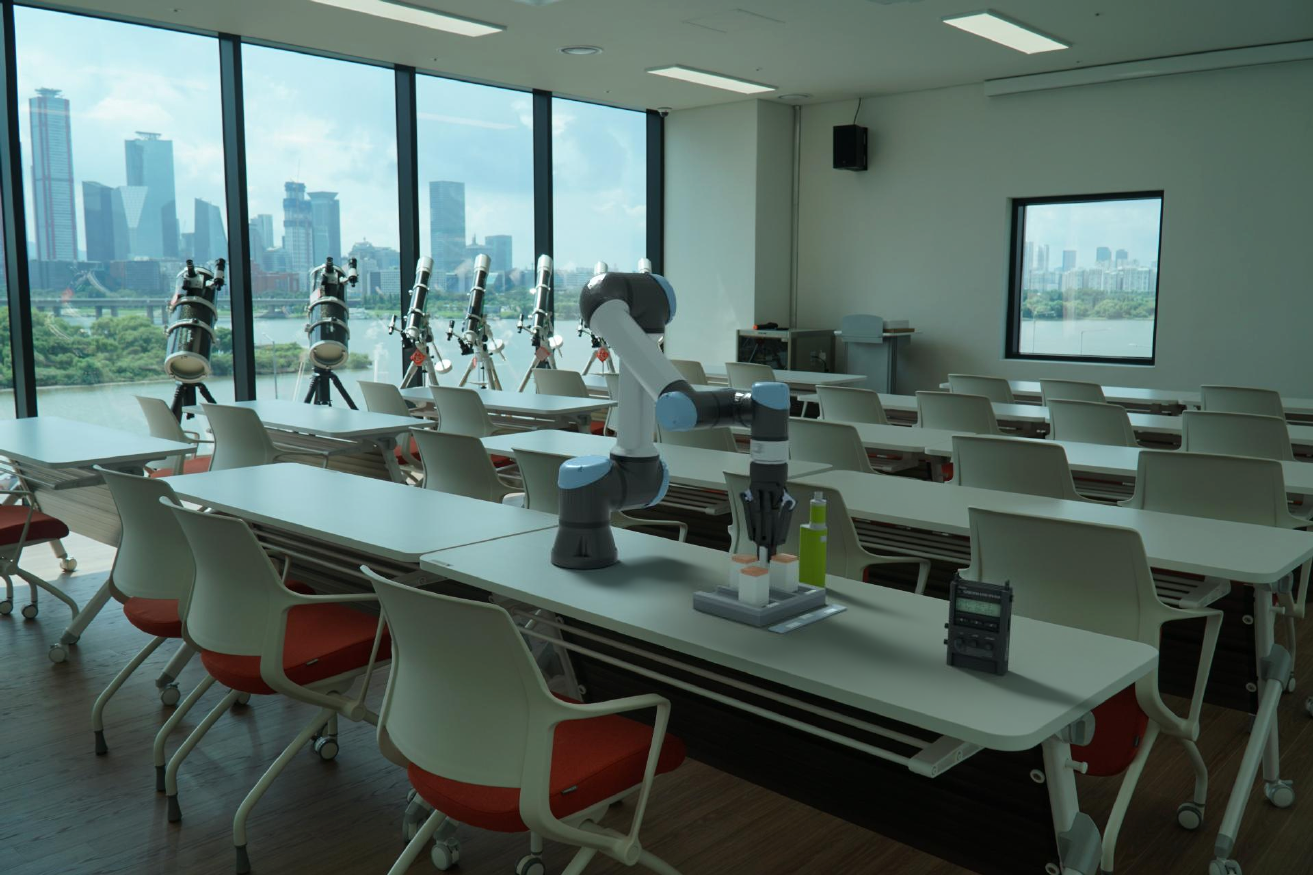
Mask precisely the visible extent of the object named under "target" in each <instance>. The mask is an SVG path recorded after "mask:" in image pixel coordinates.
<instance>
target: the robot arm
mask: <svg viewBox="0 0 1313 875" xmlns="http://www.w3.org/2000/svg"><path fill="white" fill-rule="evenodd" d="M578 300H579V301H578V303H579V305H578V306H579V312H580V316H581V318H582V320H583V322H584V323H585V325H586V327H587V328H588V329H589V331H591V333H592V334H593V335H594V336H596V337H598V338H602V339H603V340H604V341H605V342H606V343H607V345H608V346H609V347H610V349H612V351H613V352H614V353H615V354H616V356H617V357H618V359H619V360H618V391H617V392H618V393H617V419H616V420H617V422H616V424H617V425H616V443H615V445H613V446H612V447H611V448H610V449H609V456H607V455H602V454H601V455H600V454H594V455H592V454H591V455H583V456H582V455H581V456H576V457H572V458H570V459H569V458H568V460H565V461H564V462H563V463H562V464H561V465H560V467H559V470H558V478H557V479H558V480H557V485H558V529H557V533H556V536H555V540H554V542H553V543H554V544H553V546H552V548H551V550H550V561H551V563H552V564H553V565H555V566H559V567H562V568H568V569H578V570H579V569H583V570H585V569H587V570H589V569H600V568H606V567H610V566H613V565H614V564H617V562H618V561H619V558H618V557H619V552H618V548H617V547H616V542H615V539H614V534H613V532H612V528H611V513H612V512H620V511H627V510H635V509H639V510H640V509H645V508H648V507H652V506H655V505H657V504H659V503H660V502H661V501H662V500H663V499H664V497H665V496H666V494H667V492H668V489H669V485H670V472H669V469H668V468H667V463H666V462H665V460H663V459H662V458H661V457H660V453H661V452H660V450H659V449H658V448H657V447H656V446H655V444H654V442H655V420H656V419H655V418H657V423H658V425H659V426H660V427H661V428H662V429H664V430H665V431H668V432H680V433H681V432H688V431H695V430H697V431H698V430H705V429H721V428H731V427H732V428H736V427H737V428H746V429H750V436H749V439H750V445H749V446H750V449H749V458H750V460H751V461H750V462H749V473H748V474H749V480H750V483H749V485H748V489H747V490H745V491H742V492H740V493H738V494H739V495H738V496H739V497H738V498H739V499H740V501H741V503H742V506H743V512H744V519H745V525H746V530H747V537H748V540H749V541H750V542H754V544H756V557H758V561H759V567H761V568H765V569H768V573H769V576H770V560H771V556H774V555H778V554H777V552H778V551H777V549H778V547H779V546H783V545H785V544H786V542H787V537H788V534H789V530H790V527H791V521H792V517H793V513H794V510H795V509H796V508H797V506H798V503H799V501H798V499H796V498H793V497H791V496H790V495H789V494H788V493H789V491H788V488H787V481H788V479H789V478H788V477H789V464H788V462H786V461H787V460H789V449H790V448H789V446H790V444H789V442H790V440H789V438H790V436H789V432H790V412H791V401H790V400H791V398H790V397H791V396H790V393H791V391H790V387H789V384H787V383H785V382H779V381H777V382H775V381H757V382H754V383H753V384H752V385H751V390H744V389H743V390H742V389H737V388H735V389H734V388H731V387H728V388H727V387H726V388H725V387H723V388H716V389H714V390H696V389H694V387H693V386H692V385H691V384H690V383H689V382H688V381H687V379H686V378H685V377H684V376H683V375H682V374H681V372H680V371H679V370H678V369H677V368H676V367H675V365H674V364H673V363H672V362H671V361H670V360H669V358H668V357H667V356H666V355H665V354H664V353H663V351H662V350H661V349H660V348H659V347H658V342H659V340H660V339H661V338H663V336H665V330H666V328H665V327H666V326H667V325H668V324H670V323H671V322H672V321H673V318H674V317H675V316H676V313H677V312H676V311H677V297H676V293H675V290H674V288H673V286H672V285H671V284H670V281H669V280H667V279H666V278H665V277H664V276H662V275H660V274H654V273H648V272H622V271H621V272H619V271H618V272H617V271H604V272H600V273H597V274H596V275H594V276H592V277H591V278H589V280H588V281H587V282H586V283H585V284H584V286H583V287H582V289H581V292H580V295H579V299H578ZM781 506H782V507H781Z"/></svg>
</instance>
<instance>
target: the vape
mask: <svg viewBox="0 0 1313 875" xmlns="http://www.w3.org/2000/svg"><path fill="white" fill-rule="evenodd" d="M809 503H810V504H809V506H810V511H809V512H810V513H809V523H803V524H802V523H801V524H800V526H799V547H798V548H799V551H798V552H799V553H798V554H799V555H798V560H799V566H798V582H800V583H804V584H808V585H813V586H817V587H821V588H825V589H826V573H827V572H826V571H827V570H826V569H827V568H826V566H827V565H826V564H827V546H828V545H827V544H828V543H827V540H828V539H827V538H828V527H827V526H826V524H827V523H826V517H827V516H826V514H827V513H826V512H827V510H826V508H827V500H826V499H823V491H814V498H813V499H811V500H810V502H809Z"/></svg>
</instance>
